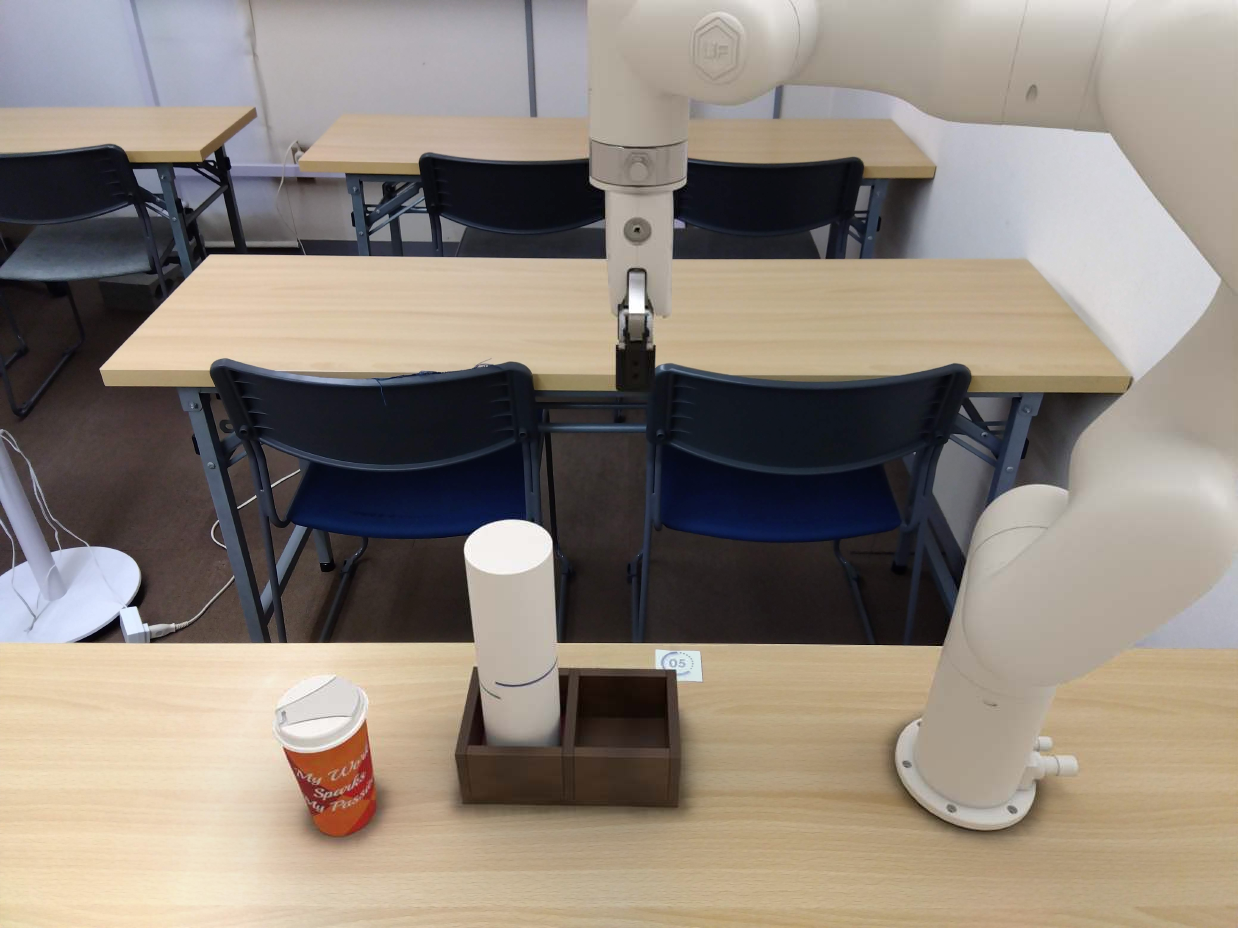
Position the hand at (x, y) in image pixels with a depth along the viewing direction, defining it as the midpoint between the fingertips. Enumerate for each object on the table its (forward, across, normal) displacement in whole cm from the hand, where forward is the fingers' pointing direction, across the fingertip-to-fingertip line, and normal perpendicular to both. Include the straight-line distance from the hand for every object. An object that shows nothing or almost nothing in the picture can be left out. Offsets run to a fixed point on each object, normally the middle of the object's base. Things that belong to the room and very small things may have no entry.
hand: (634, 364), depth 75 cm
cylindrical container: (+35, -13, +10) cm, 39 cm away
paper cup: (+36, -19, +26) cm, 49 cm away
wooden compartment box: (+36, -13, +6) cm, 39 cm away
